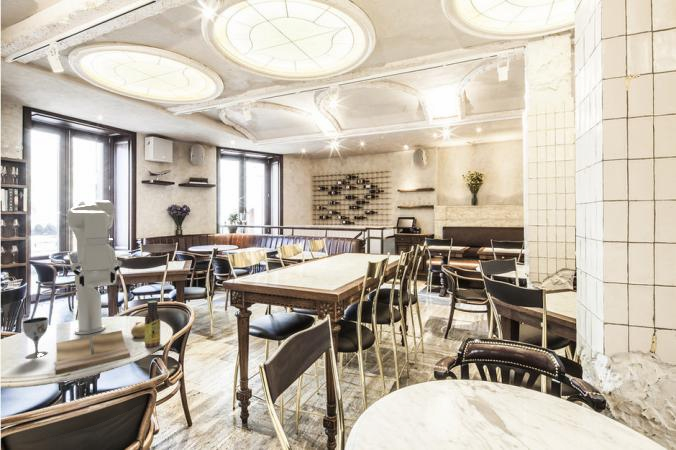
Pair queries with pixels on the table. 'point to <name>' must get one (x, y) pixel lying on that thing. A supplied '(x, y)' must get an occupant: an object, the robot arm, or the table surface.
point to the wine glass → (35, 333)
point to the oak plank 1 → (73, 349)
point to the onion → (138, 330)
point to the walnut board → (91, 359)
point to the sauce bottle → (152, 325)
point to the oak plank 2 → (107, 341)
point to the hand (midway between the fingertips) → (97, 284)
